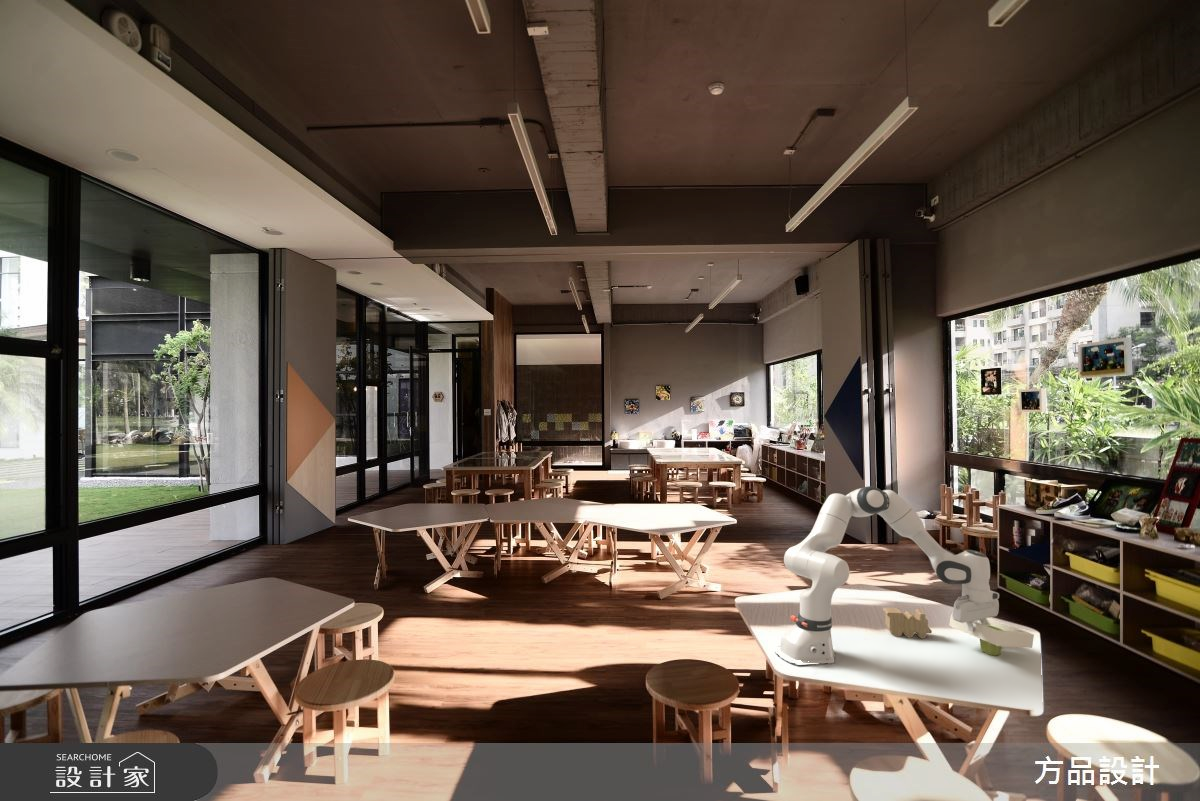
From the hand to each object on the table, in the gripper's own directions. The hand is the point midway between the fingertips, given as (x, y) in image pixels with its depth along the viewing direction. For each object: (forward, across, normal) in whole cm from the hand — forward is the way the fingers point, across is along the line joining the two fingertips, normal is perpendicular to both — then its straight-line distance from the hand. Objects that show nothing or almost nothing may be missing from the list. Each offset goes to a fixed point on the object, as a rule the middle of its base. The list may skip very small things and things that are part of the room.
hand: (975, 630), depth 216 cm
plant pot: (+10, +8, 0) cm, 13 cm away
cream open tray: (+4, +8, 0) cm, 9 cm away
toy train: (+10, -8, +23) cm, 26 cm away
